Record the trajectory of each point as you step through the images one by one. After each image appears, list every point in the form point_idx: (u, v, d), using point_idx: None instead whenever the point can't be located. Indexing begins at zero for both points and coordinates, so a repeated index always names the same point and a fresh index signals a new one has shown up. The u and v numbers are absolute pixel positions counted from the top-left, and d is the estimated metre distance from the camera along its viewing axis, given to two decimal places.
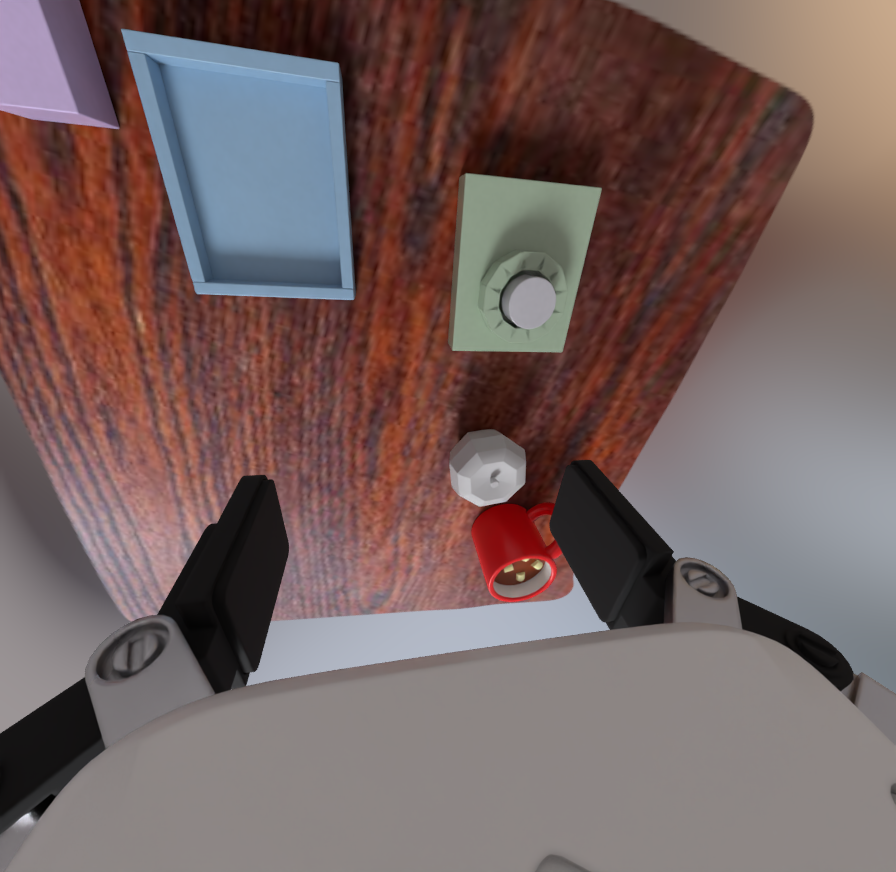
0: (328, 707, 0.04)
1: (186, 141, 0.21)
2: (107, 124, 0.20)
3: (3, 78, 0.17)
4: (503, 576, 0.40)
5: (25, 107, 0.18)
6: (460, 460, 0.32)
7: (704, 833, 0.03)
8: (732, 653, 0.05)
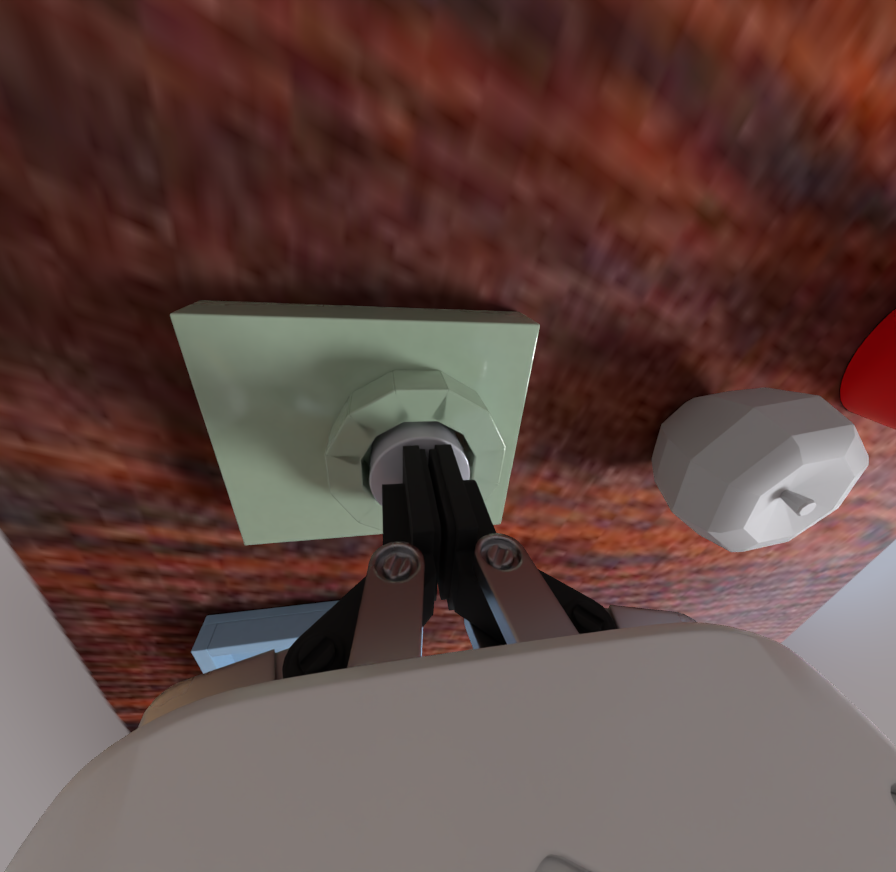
0: (328, 707, 0.04)
1: None
2: None
3: None
4: None
5: None
6: (706, 536, 0.17)
7: (704, 833, 0.03)
8: (732, 653, 0.05)
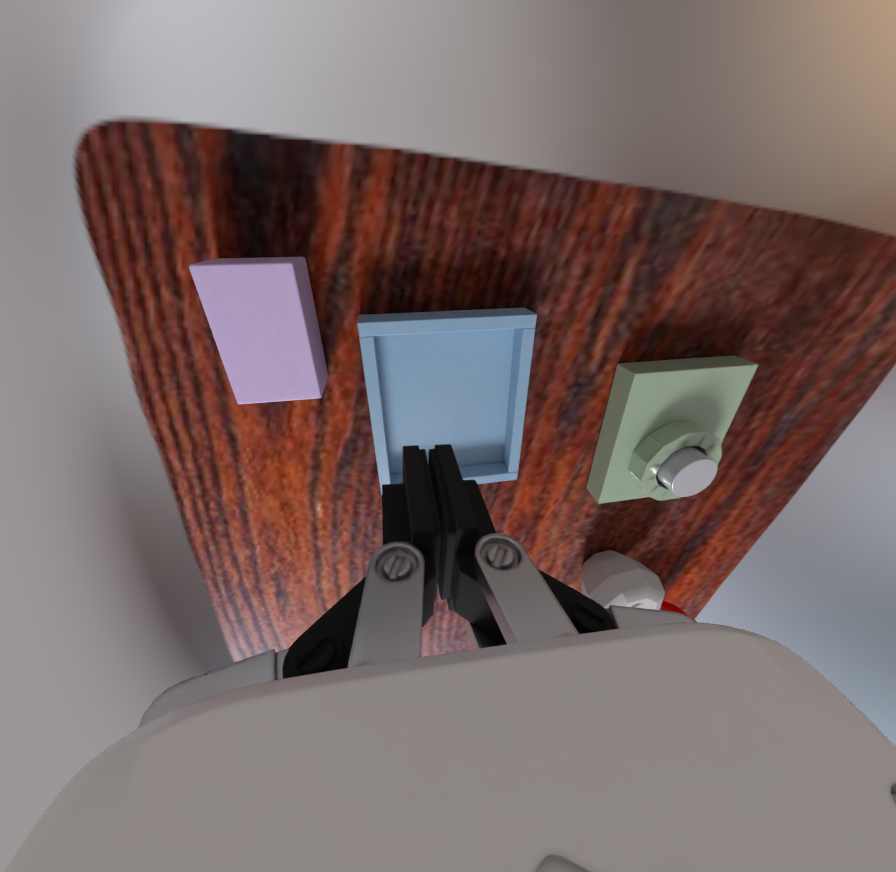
0: (328, 707, 0.04)
1: (385, 380, 0.23)
2: (325, 382, 0.22)
3: (267, 385, 0.19)
4: None
5: (278, 400, 0.20)
6: (601, 596, 0.33)
7: (704, 833, 0.03)
8: (732, 653, 0.05)
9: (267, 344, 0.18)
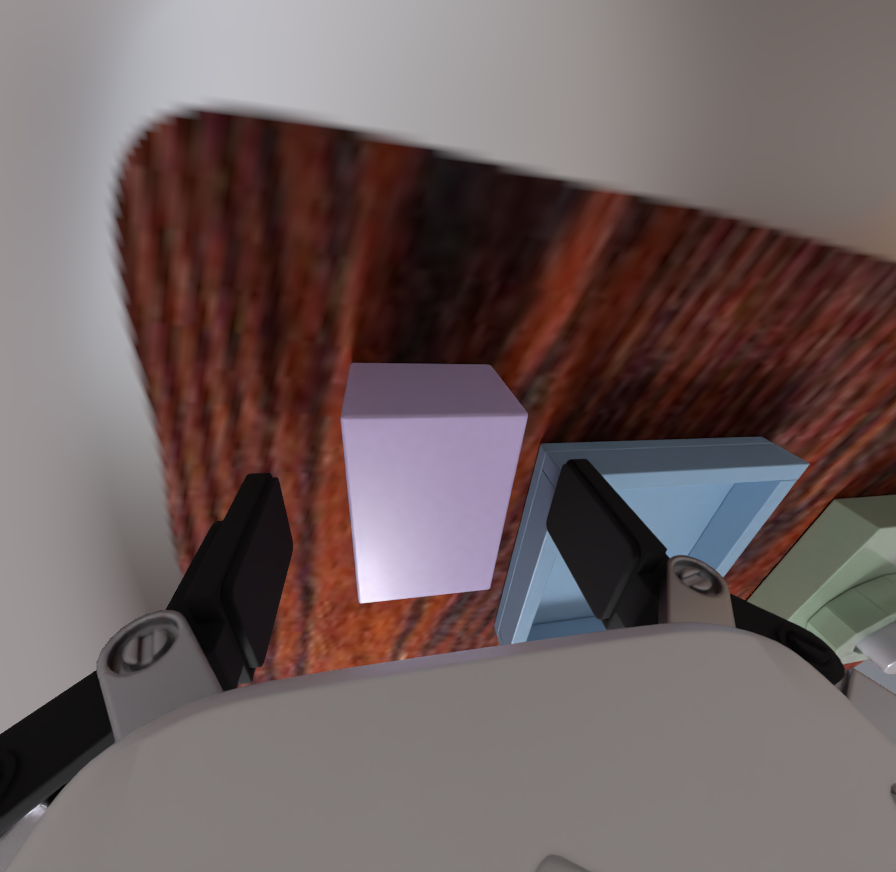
0: (327, 706, 0.04)
1: None
2: None
3: (415, 578, 0.11)
4: None
5: (424, 594, 0.12)
6: None
7: (704, 833, 0.03)
8: (732, 653, 0.05)
9: (437, 529, 0.10)
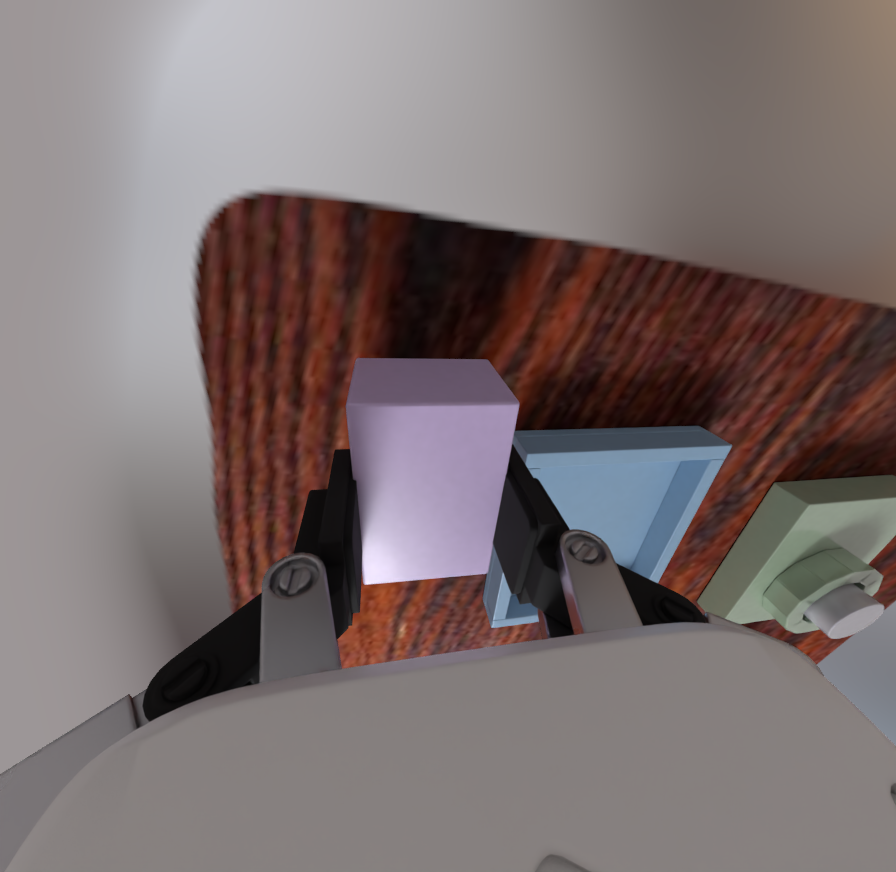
0: (328, 707, 0.04)
1: None
2: None
3: (416, 561, 0.12)
4: None
5: (425, 577, 0.12)
6: None
7: (704, 833, 0.03)
8: (732, 653, 0.05)
9: (437, 513, 0.11)
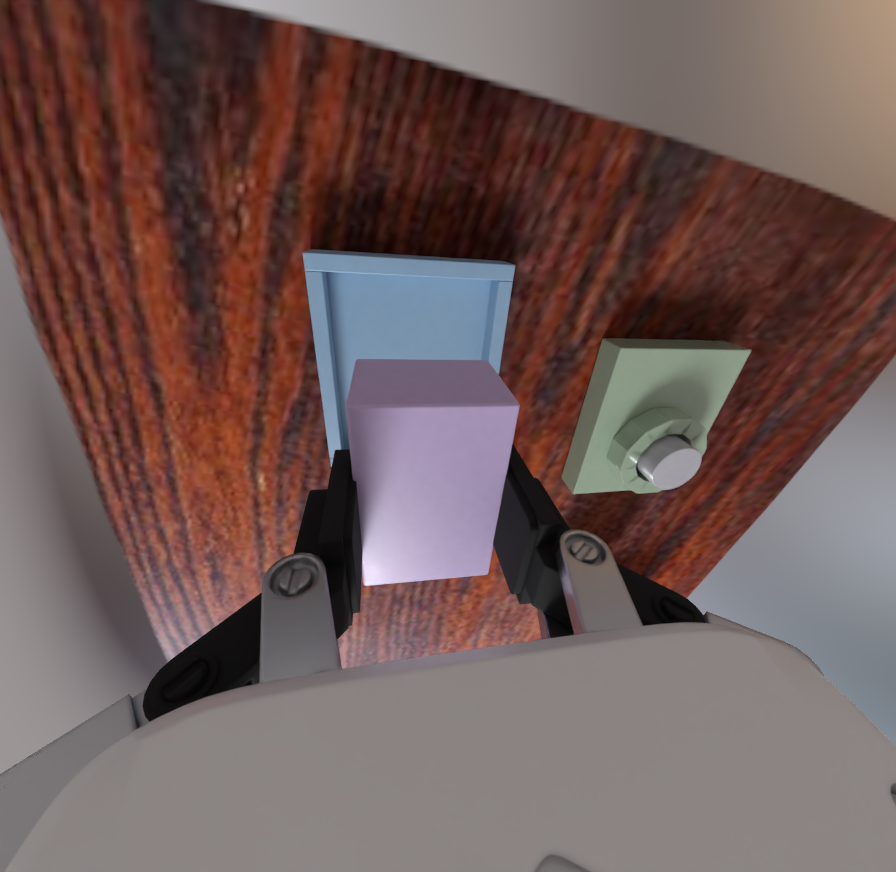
0: (327, 707, 0.04)
1: (339, 331, 0.20)
2: None
3: (416, 562, 0.12)
4: None
5: (425, 578, 0.12)
6: None
7: (704, 833, 0.03)
8: (732, 653, 0.05)
9: (437, 514, 0.11)
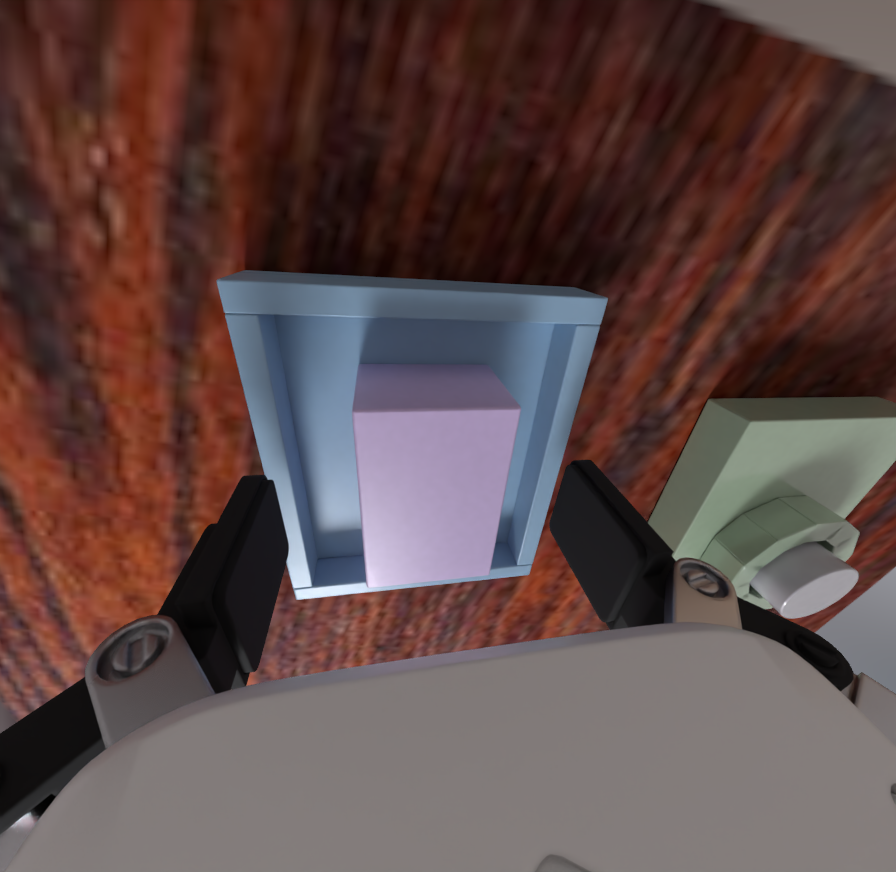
0: (328, 707, 0.04)
1: (303, 404, 0.12)
2: None
3: (419, 564, 0.12)
4: None
5: (427, 580, 0.13)
6: None
7: (704, 833, 0.03)
8: (732, 653, 0.05)
9: (440, 516, 0.11)
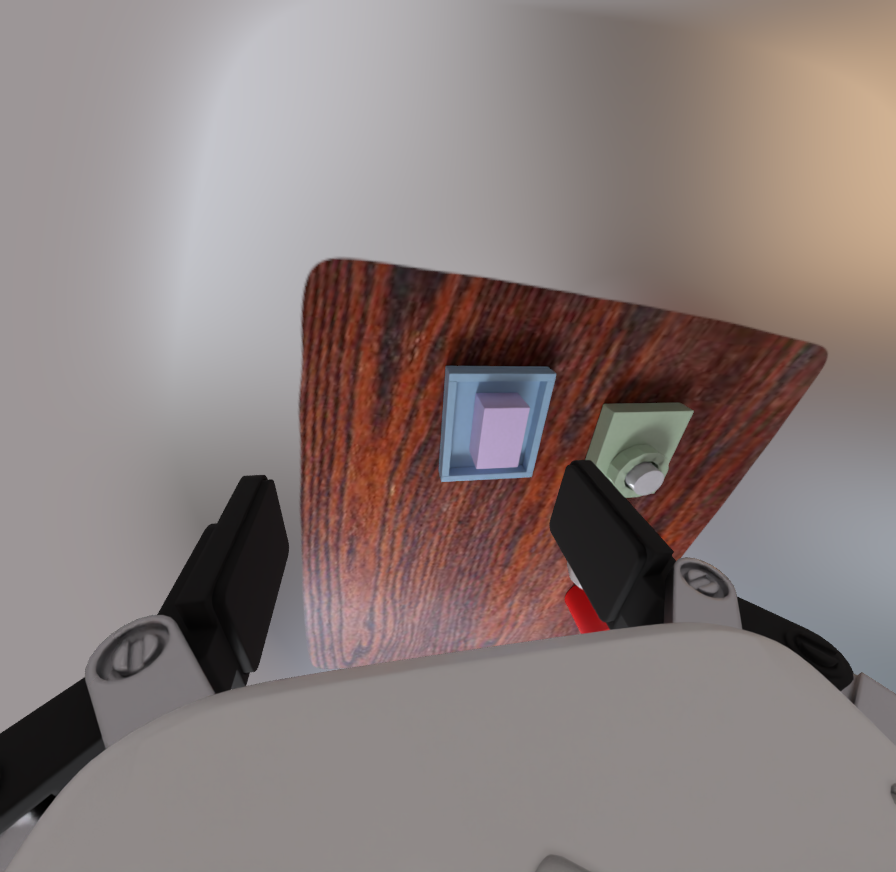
0: (328, 706, 0.04)
1: (455, 406, 0.35)
2: None
3: (494, 460, 0.35)
4: None
5: (496, 467, 0.36)
6: None
7: (704, 833, 0.03)
8: (732, 653, 0.05)
9: (503, 442, 0.34)
